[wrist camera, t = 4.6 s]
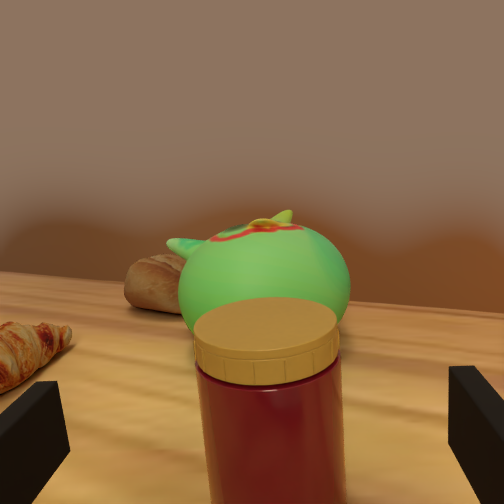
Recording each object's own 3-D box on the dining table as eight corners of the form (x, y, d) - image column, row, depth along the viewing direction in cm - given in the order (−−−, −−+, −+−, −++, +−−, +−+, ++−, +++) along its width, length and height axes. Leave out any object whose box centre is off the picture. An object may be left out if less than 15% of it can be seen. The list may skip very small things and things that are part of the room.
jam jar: (242, 591, 22) (220, 379, 20) (196, 487, 29) (176, 322, 27) (375, 529, 25) (371, 338, 23) (304, 448, 32) (294, 297, 30)
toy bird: (208, 406, 39) (189, 238, 36) (171, 338, 54) (155, 217, 51) (383, 358, 45) (380, 211, 42) (304, 309, 60) (298, 199, 57)
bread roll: (187, 329, 57) (179, 267, 55) (108, 314, 65) (99, 260, 63) (231, 305, 64) (226, 250, 63) (156, 294, 73) (150, 245, 71)
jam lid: (224, 402, 20) (220, 365, 20) (181, 341, 27) (177, 313, 27) (368, 360, 23) (367, 326, 23) (295, 315, 30) (293, 289, 30)
